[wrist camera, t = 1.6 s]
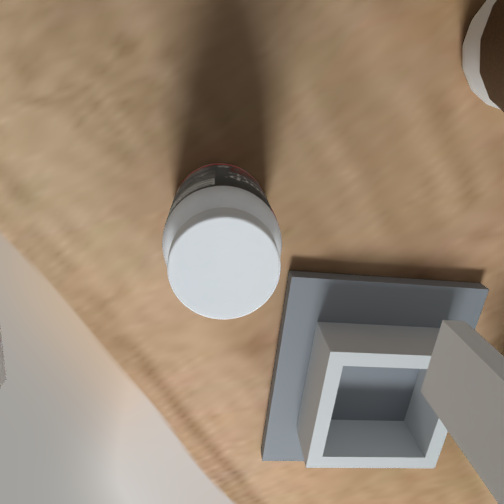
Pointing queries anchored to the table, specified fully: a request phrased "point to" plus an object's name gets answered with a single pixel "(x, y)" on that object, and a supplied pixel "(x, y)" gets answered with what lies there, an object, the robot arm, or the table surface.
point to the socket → (360, 369)
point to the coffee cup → (486, 53)
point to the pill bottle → (222, 243)
